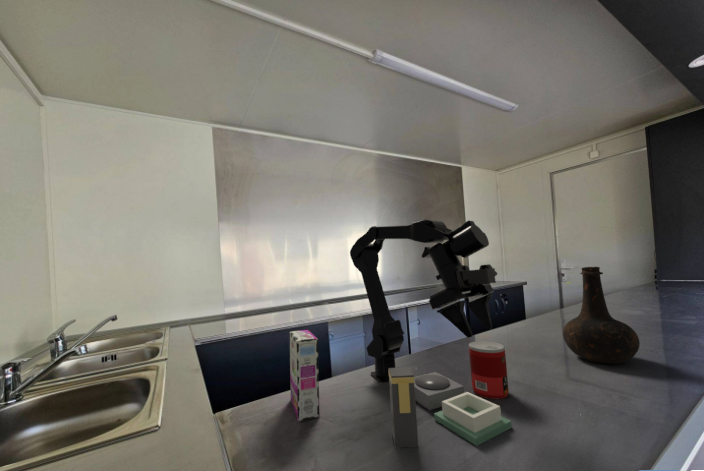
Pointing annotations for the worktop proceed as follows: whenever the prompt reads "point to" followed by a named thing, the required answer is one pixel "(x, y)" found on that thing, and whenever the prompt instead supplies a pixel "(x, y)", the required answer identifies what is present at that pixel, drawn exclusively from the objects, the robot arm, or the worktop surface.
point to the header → (472, 418)
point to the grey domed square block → (435, 389)
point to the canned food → (488, 369)
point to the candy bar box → (304, 374)
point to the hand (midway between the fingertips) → (480, 332)
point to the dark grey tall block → (403, 407)
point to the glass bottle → (599, 327)
